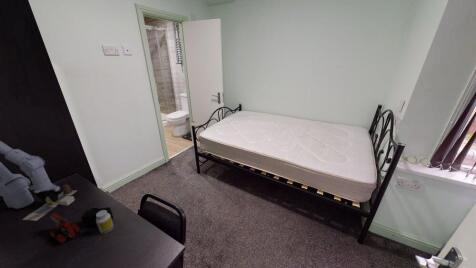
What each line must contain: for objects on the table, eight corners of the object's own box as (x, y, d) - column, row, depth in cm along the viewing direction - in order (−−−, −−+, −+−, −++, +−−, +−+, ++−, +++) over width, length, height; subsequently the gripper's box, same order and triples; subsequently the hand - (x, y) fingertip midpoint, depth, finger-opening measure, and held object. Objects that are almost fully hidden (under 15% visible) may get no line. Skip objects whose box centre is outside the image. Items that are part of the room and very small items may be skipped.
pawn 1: (45, 206, 94) (41, 197, 91) (52, 200, 97) (48, 192, 95) (52, 206, 93) (47, 198, 91) (59, 201, 97) (55, 193, 95)
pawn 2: (61, 194, 102) (58, 186, 100) (68, 190, 105) (64, 182, 103) (68, 194, 102) (64, 187, 99) (74, 190, 105) (70, 182, 103)
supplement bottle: (116, 225, 84) (111, 210, 81) (106, 235, 79) (100, 219, 76) (107, 222, 86) (102, 207, 82) (97, 232, 81) (90, 216, 77)
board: (22, 221, 86) (21, 219, 85) (66, 191, 106) (65, 189, 106) (37, 222, 85) (36, 220, 85) (78, 191, 106) (77, 190, 105)
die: (61, 207, 95) (58, 201, 93) (68, 201, 99) (66, 195, 97) (68, 207, 95) (66, 201, 93) (75, 201, 98) (73, 196, 97)
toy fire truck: (65, 246, 74) (55, 229, 71) (50, 236, 79) (40, 219, 75) (83, 233, 80) (76, 216, 76) (68, 224, 85) (60, 207, 81)
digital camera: (114, 215, 90) (111, 205, 87) (110, 224, 85) (106, 213, 82) (92, 218, 88) (87, 208, 85) (85, 227, 83) (80, 217, 80)
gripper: (17, 184, 86) (30, 205, 91) (45, 185, 85) (55, 206, 90) (34, 175, 93) (44, 195, 98) (59, 176, 92) (68, 197, 97)
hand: (51, 200), depth 94 cm, fingers open, 5 cm apart
